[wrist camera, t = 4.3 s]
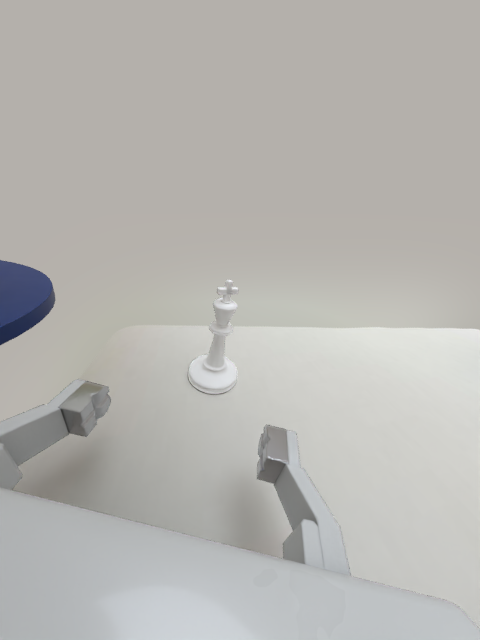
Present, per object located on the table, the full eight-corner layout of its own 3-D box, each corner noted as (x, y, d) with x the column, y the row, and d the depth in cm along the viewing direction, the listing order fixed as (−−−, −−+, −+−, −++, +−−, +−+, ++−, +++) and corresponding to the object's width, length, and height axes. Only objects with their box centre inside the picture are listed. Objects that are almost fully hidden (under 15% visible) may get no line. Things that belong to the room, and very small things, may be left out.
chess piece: (245, 386, 21) (272, 293, 16) (196, 400, 18) (211, 295, 13) (225, 354, 24) (242, 270, 19) (182, 362, 22) (189, 269, 17)
